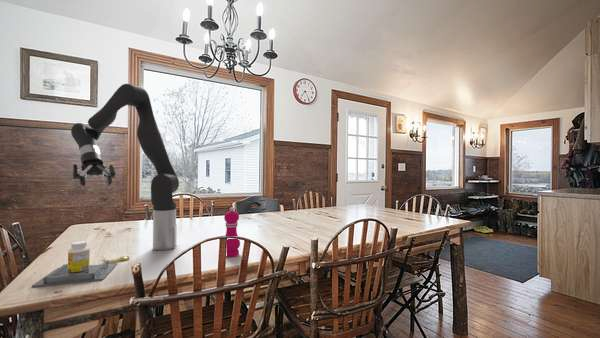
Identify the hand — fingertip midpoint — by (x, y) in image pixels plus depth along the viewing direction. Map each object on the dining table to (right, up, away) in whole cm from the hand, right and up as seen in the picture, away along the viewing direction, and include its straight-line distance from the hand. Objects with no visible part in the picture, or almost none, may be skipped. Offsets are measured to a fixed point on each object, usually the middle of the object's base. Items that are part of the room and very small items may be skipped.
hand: (97, 184), depth 111 cm
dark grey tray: (+10, -29, -21) cm, 37 cm away
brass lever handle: (+14, -29, -8) cm, 33 cm away
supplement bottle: (+10, -29, -21) cm, 37 cm away
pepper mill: (+55, -30, +1) cm, 63 cm away
